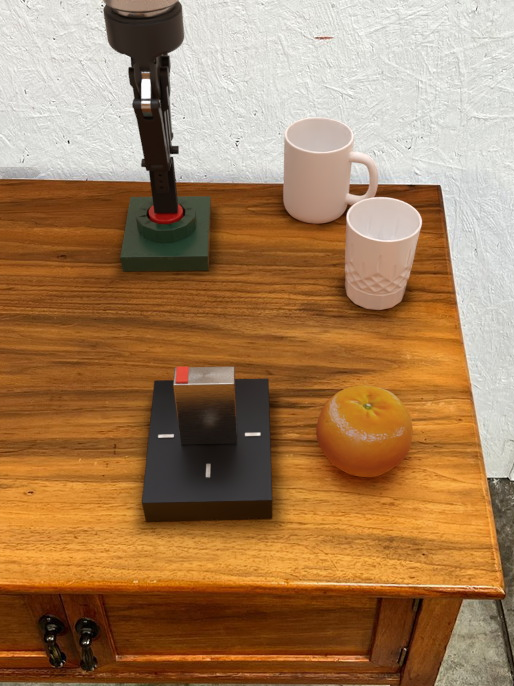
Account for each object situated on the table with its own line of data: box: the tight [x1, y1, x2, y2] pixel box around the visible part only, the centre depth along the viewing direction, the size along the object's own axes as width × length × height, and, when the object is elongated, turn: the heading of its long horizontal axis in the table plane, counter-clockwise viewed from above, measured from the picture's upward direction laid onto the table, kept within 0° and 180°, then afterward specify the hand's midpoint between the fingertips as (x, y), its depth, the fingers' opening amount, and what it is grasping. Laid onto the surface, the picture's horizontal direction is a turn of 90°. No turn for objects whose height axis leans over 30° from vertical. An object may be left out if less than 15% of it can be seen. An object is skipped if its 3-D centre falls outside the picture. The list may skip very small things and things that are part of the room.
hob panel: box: [141, 378, 274, 523], centre depth 71 cm, size 14×11×3 cm
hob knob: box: [173, 366, 237, 445], centre depth 67 cm, size 5×2×8 cm, turn 92°
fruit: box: [315, 384, 414, 478], centre depth 70 cm, size 8×9×8 cm
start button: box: [149, 204, 183, 224], centre depth 92 cm, size 4×4×2 cm
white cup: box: [344, 196, 423, 311], centre depth 85 cm, size 8×8×10 cm
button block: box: [119, 195, 212, 273], centre depth 93 cm, size 12×10×4 cm
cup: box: [282, 116, 379, 225], centre depth 96 cm, size 8×12×10 cm
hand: (166, 209), depth 91 cm, fingers closed
